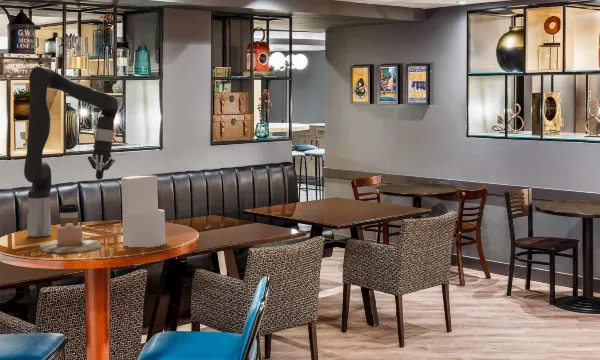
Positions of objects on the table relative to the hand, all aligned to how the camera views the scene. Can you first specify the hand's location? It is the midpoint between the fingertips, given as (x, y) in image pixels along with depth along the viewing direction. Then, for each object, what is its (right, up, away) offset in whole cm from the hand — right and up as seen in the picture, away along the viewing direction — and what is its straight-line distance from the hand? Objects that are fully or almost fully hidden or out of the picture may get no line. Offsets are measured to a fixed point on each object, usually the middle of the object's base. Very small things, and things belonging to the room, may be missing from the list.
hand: (99, 179), depth 364 cm
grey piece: (+23, -27, -16) cm, 39 cm away
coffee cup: (-12, -27, -4) cm, 29 cm away
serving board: (-6, -28, -24) cm, 38 cm away
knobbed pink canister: (-6, -27, -25) cm, 37 cm away
